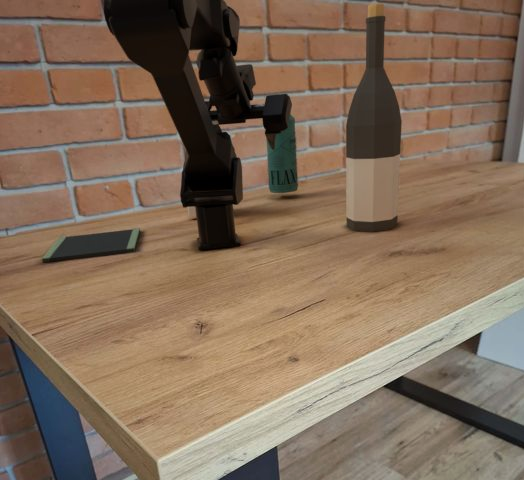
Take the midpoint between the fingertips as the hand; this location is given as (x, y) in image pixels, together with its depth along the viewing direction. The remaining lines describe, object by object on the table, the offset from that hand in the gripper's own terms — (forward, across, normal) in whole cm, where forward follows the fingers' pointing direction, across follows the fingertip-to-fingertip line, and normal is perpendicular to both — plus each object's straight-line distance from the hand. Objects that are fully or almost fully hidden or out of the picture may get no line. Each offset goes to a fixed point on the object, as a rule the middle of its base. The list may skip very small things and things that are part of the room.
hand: (250, 149), depth 97 cm
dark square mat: (-10, +20, +27) cm, 35 cm away
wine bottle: (-1, -24, +18) cm, 30 cm away
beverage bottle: (+17, -3, -1) cm, 17 cm away
